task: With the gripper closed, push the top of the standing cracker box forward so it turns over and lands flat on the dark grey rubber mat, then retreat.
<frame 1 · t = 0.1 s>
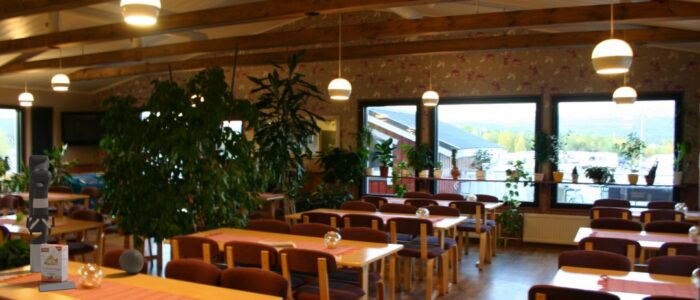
hand: (40, 235, 333), 29 cm above the table, fingers open, 8 cm apart
cracker box: (54, 281, 348), on the table, touching mat
mat: (57, 286, 336), on the table
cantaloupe: (131, 273, 371), on the table
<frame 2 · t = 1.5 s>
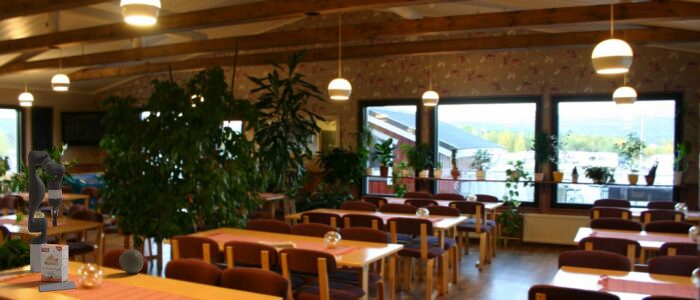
hand: (54, 225, 355), 31 cm above the table, fingers open, 4 cm apart
nothing on the table moved.
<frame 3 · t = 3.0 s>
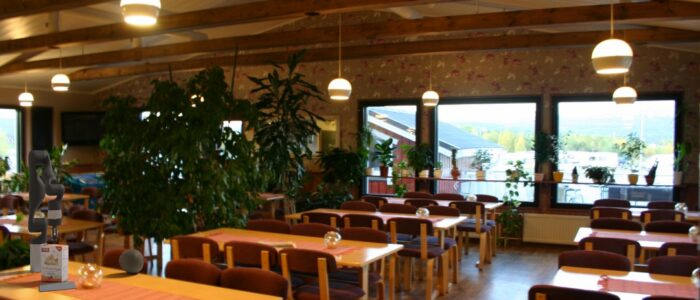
hand: (54, 246, 355), 19 cm above the table, fingers closed
nothing on the table moved.
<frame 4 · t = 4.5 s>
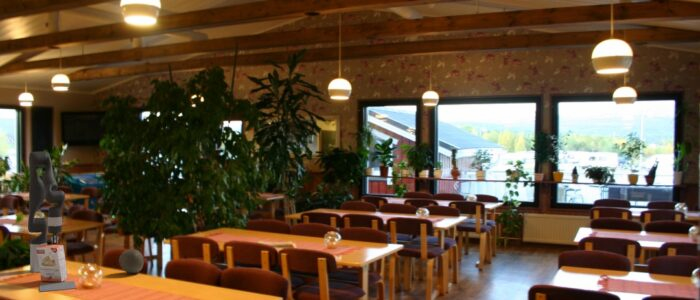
hand: (54, 253, 352), 15 cm above the table, fingers closed
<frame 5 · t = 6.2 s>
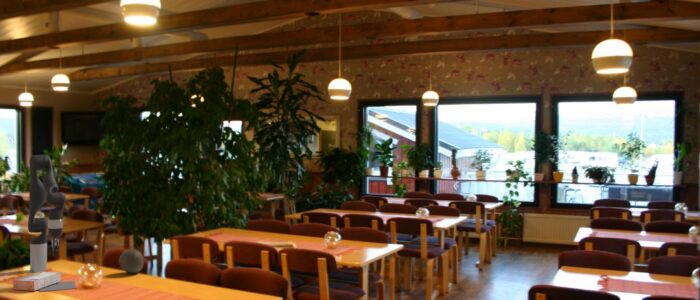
hand: (55, 256, 344), 15 cm above the table, fingers closed
cracker box: (51, 276, 346), point 3 cm above the table, touching mat
everything else where it was.
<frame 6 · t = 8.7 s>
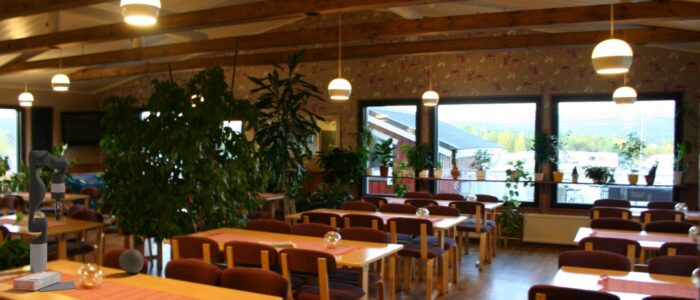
hand: (57, 220, 351), 35 cm above the table, fingers closed
nothing on the table moved.
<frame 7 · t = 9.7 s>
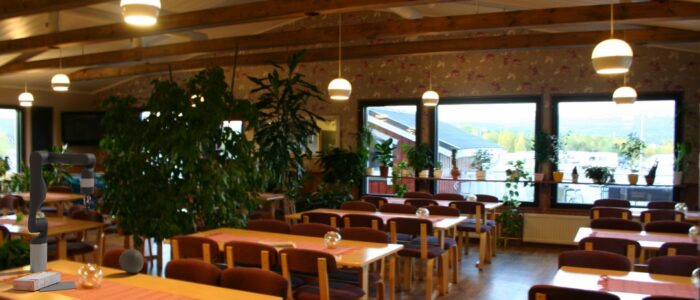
hand: (86, 213, 367), 37 cm above the table, fingers closed
nothing on the table moved.
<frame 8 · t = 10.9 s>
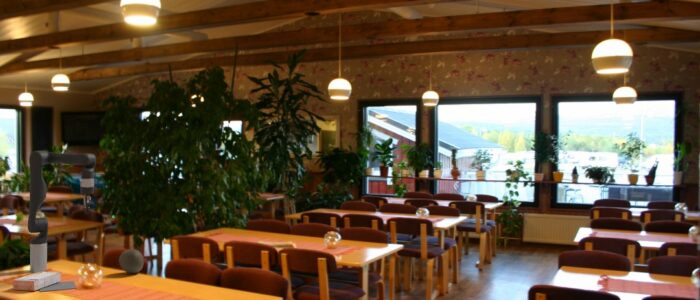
hand: (87, 214, 367), 37 cm above the table, fingers closed
nothing on the table moved.
at the end: cracker box tilted 91°; cracker box inside the target area (12.0 cm from its centre), point 3.5 cm above the table; the gripper is holding nothing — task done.
